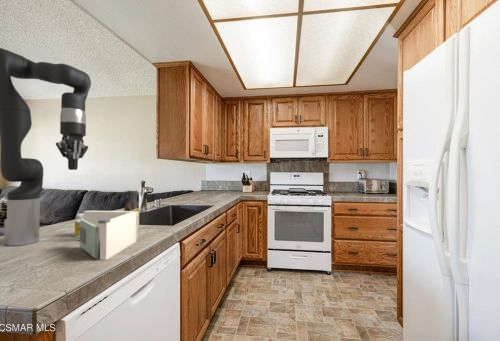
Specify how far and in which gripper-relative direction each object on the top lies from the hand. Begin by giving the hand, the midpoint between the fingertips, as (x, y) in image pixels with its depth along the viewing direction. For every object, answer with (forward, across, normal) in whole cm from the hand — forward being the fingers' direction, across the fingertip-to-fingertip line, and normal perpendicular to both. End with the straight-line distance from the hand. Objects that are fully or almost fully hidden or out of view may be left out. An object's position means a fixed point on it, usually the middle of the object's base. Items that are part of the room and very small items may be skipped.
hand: (72, 169), depth 86 cm
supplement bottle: (+29, -16, -8) cm, 34 cm away
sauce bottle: (+29, -19, +12) cm, 37 cm away
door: (+29, +5, +9) cm, 30 cm away
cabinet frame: (+29, 0, +8) cm, 30 cm away
